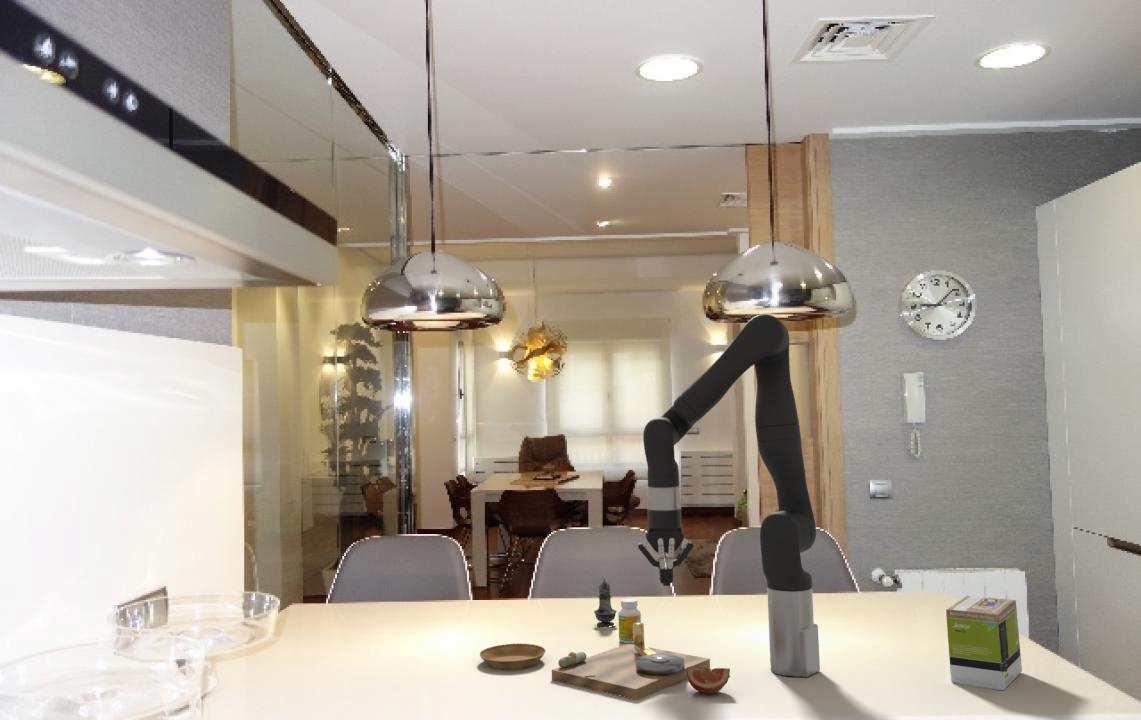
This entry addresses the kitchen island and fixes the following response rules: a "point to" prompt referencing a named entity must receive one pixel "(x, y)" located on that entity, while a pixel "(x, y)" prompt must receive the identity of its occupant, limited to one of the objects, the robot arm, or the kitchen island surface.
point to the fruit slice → (707, 679)
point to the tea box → (983, 642)
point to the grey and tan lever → (654, 656)
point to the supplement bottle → (628, 619)
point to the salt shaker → (605, 606)
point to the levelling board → (619, 671)
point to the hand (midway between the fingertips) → (666, 585)
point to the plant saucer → (512, 656)
